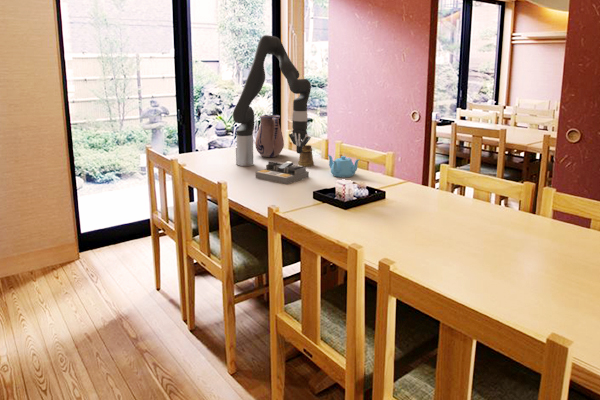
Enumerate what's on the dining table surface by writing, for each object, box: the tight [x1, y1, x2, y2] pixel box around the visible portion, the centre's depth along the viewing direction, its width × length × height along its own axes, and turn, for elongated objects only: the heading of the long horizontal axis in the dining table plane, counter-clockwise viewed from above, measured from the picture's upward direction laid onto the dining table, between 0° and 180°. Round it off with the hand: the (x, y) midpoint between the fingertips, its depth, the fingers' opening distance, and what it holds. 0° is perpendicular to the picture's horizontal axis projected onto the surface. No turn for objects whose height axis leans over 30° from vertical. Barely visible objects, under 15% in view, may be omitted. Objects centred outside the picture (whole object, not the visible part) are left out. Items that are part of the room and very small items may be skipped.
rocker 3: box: [289, 165, 305, 171], centre depth 265 cm, size 4×8×2 cm, turn 142°
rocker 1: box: [267, 161, 281, 166], centre depth 273 cm, size 4×8×2 cm, turn 142°
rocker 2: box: [278, 160, 294, 171], centre depth 269 cm, size 4×8×2 cm, turn 142°
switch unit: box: [255, 162, 310, 185], centre depth 267 cm, size 21×18×6 cm
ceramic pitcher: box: [255, 114, 285, 158], centre depth 314 cm, size 18×21×25 cm
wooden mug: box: [297, 138, 315, 168], centre depth 295 cm, size 9×14×18 cm, turn 27°
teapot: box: [327, 154, 361, 178], centre depth 271 cm, size 15×15×10 cm
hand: (299, 153), depth 265 cm, fingers closed
